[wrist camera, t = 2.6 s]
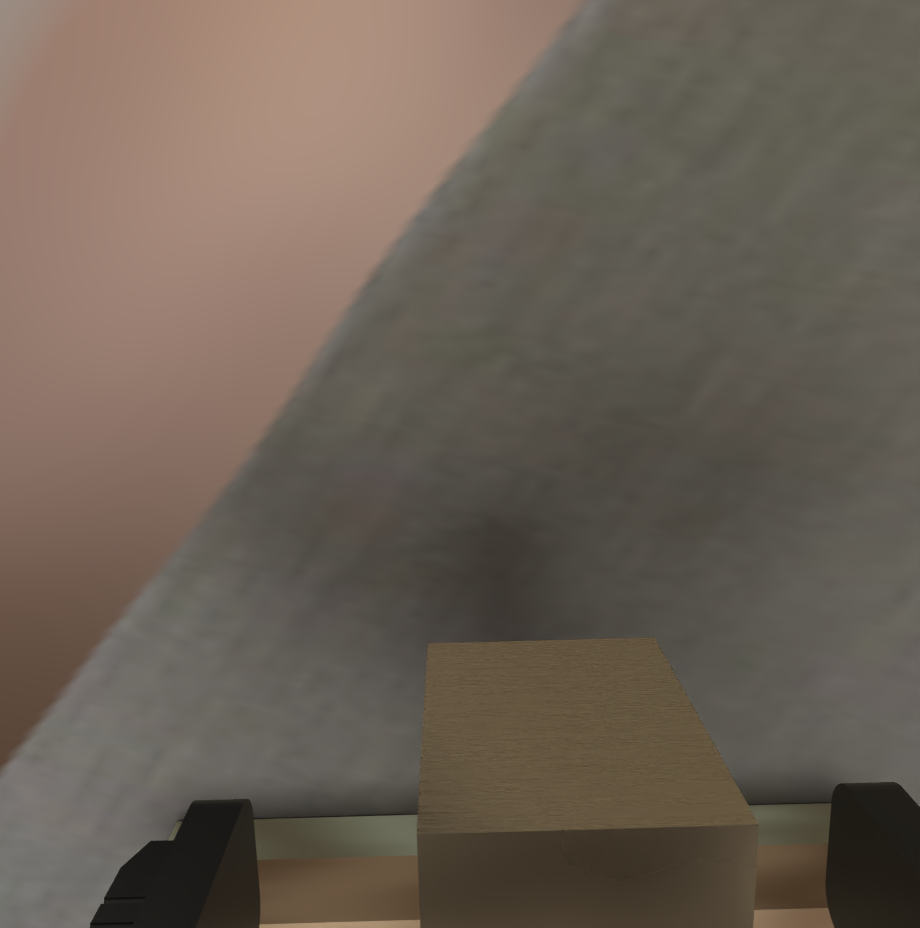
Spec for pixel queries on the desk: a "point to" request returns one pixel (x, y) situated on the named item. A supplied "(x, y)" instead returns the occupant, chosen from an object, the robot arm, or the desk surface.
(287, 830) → the pitch
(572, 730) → the foosball rod
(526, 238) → the desk surface
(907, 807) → the robot arm
